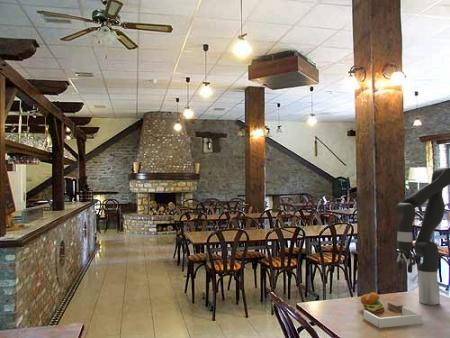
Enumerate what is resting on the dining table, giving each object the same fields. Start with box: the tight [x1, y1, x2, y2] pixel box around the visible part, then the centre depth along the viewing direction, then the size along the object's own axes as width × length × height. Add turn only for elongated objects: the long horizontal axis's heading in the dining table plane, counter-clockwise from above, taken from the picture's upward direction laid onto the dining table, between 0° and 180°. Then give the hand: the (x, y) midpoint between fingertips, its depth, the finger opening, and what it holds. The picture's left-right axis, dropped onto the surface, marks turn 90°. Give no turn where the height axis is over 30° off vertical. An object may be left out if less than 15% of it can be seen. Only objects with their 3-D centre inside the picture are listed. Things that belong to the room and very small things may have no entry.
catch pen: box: [363, 306, 423, 329], centre depth 182 cm, size 22×12×4 cm, turn 102°
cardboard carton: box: [387, 301, 404, 313], centre depth 198 cm, size 4×7×3 cm, turn 12°
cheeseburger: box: [360, 292, 385, 314], centre depth 198 cm, size 10×11×10 cm
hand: (404, 271), depth 207 cm, fingers open, 8 cm apart
